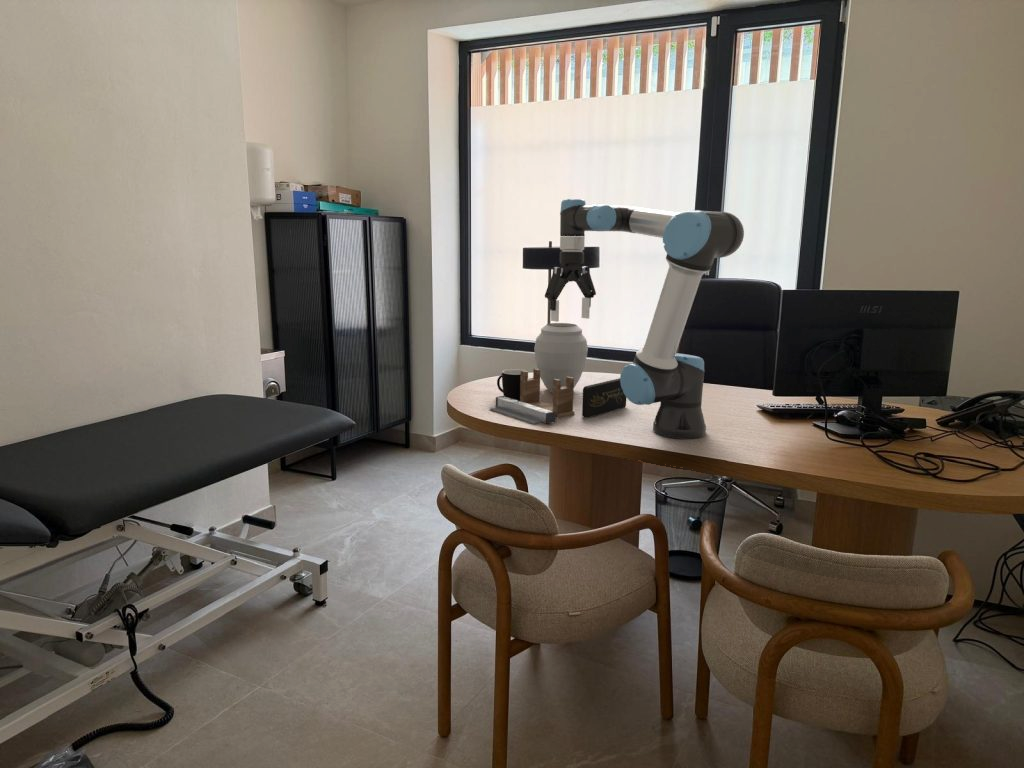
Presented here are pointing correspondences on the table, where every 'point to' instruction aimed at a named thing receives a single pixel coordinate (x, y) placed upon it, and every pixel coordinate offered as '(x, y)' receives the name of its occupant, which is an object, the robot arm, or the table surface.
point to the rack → (560, 394)
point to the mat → (516, 415)
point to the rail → (526, 409)
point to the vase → (560, 353)
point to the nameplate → (602, 398)
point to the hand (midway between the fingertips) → (570, 319)
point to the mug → (510, 383)
